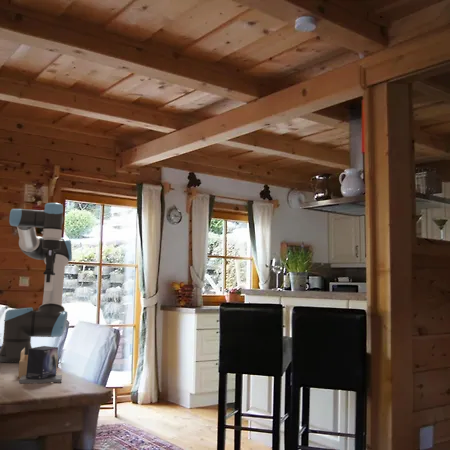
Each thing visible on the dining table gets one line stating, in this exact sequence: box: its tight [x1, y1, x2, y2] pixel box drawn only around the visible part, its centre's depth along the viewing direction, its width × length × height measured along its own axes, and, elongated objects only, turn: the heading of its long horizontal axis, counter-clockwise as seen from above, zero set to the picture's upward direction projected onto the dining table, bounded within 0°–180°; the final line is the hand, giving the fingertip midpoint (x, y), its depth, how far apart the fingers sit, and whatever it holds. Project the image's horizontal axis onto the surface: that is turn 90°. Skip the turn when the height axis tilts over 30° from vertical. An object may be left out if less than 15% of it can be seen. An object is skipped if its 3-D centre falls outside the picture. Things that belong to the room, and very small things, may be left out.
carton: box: [17, 348, 59, 379], centre depth 212 cm, size 19×13×9 cm
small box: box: [26, 345, 59, 379], centre depth 197 cm, size 11×6×10 cm, turn 169°
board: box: [19, 374, 63, 384], centre depth 197 cm, size 10×14×1 cm
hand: (48, 290), depth 228 cm, fingers open, 13 cm apart
